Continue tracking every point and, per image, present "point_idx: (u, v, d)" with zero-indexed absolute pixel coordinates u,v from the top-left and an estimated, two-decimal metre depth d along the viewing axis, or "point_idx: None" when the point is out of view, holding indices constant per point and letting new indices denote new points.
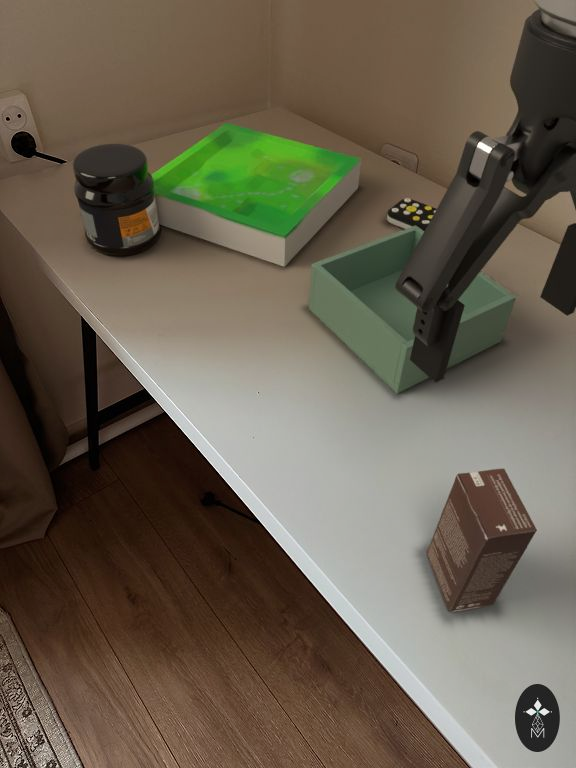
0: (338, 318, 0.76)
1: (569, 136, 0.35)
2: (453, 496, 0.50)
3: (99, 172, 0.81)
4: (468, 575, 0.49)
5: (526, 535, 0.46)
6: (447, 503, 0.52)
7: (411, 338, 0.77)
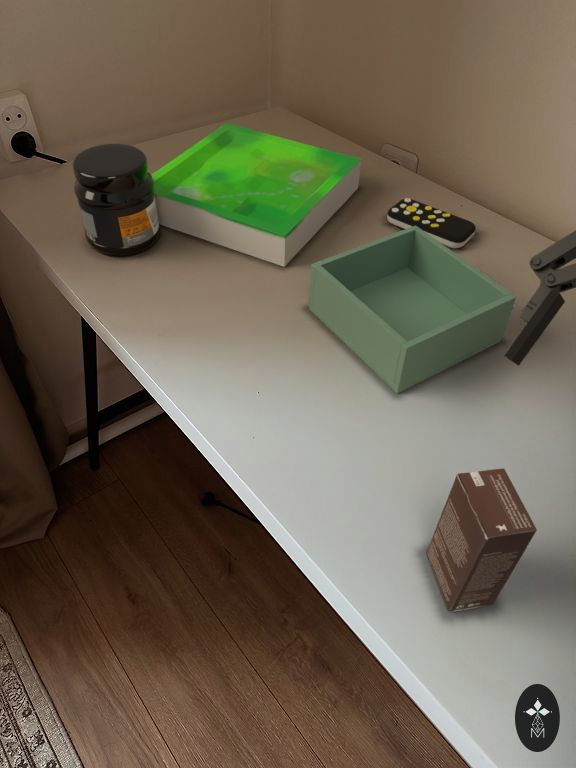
0: (338, 318, 0.76)
1: None
2: (453, 496, 0.50)
3: (99, 172, 0.81)
4: (468, 575, 0.49)
5: (526, 535, 0.46)
6: (447, 503, 0.52)
7: (411, 338, 0.77)
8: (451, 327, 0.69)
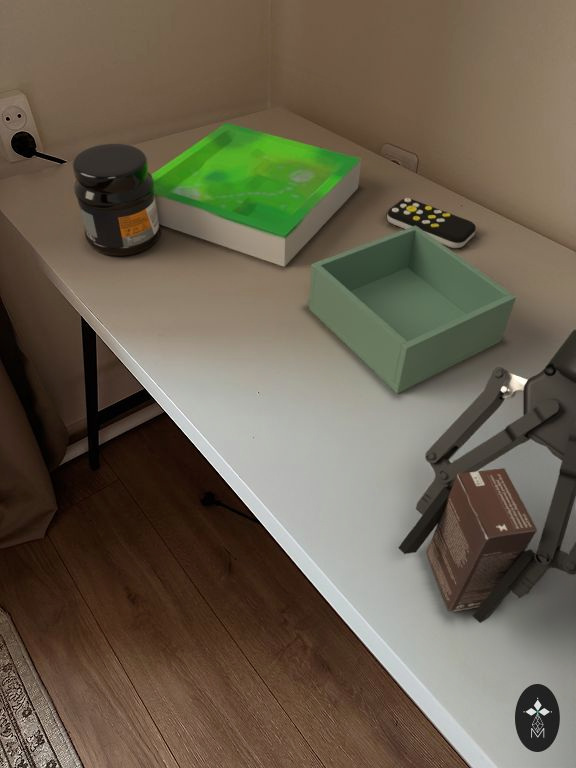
0: (338, 318, 0.76)
1: (561, 396, 0.49)
2: (453, 496, 0.50)
3: (99, 172, 0.81)
4: (468, 575, 0.49)
5: (527, 535, 0.46)
6: (447, 503, 0.52)
7: (411, 338, 0.77)
8: (451, 327, 0.69)
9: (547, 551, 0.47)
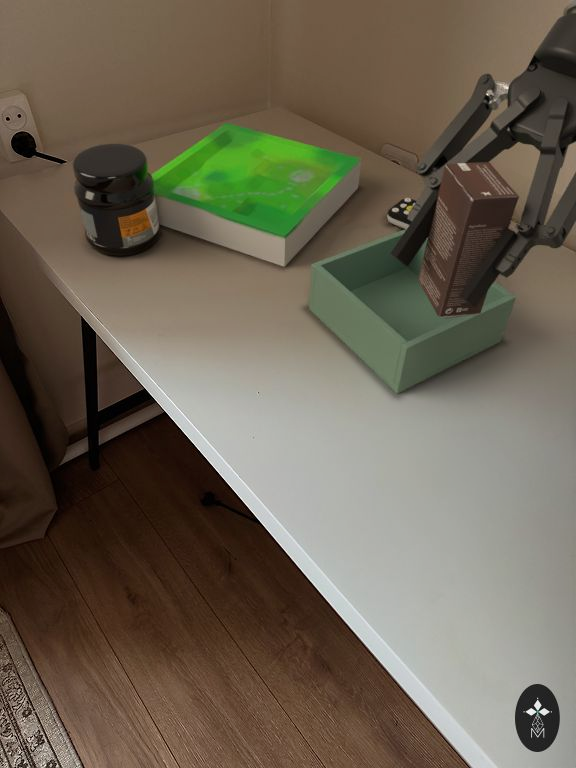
0: (338, 318, 0.76)
1: (542, 86, 0.52)
2: (442, 190, 0.54)
3: (99, 172, 0.81)
4: (456, 258, 0.53)
5: (509, 201, 0.50)
6: (436, 204, 0.55)
7: (411, 338, 0.77)
8: (451, 327, 0.69)
9: (528, 222, 0.51)
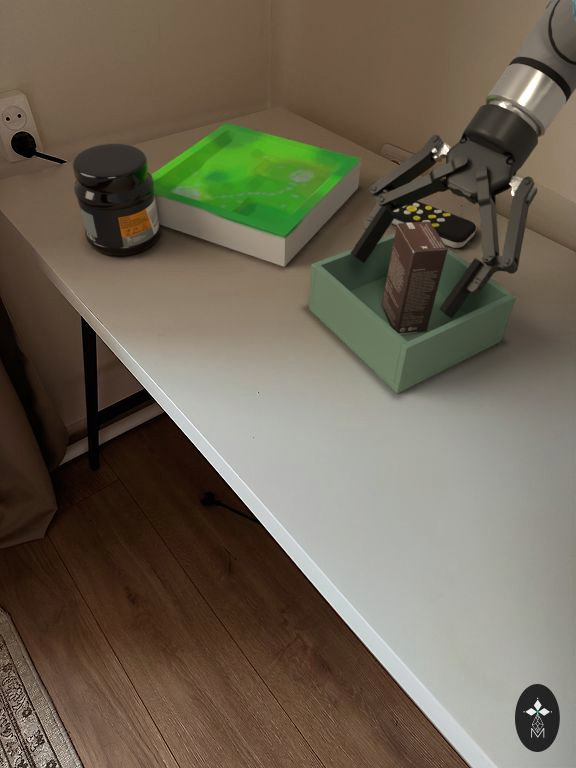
0: (338, 318, 0.76)
1: (470, 155, 0.70)
2: (395, 242, 0.73)
3: (99, 172, 0.81)
4: (405, 292, 0.72)
5: (441, 252, 0.69)
6: (392, 251, 0.75)
7: (411, 338, 0.77)
8: (451, 327, 0.69)
9: (489, 254, 0.67)
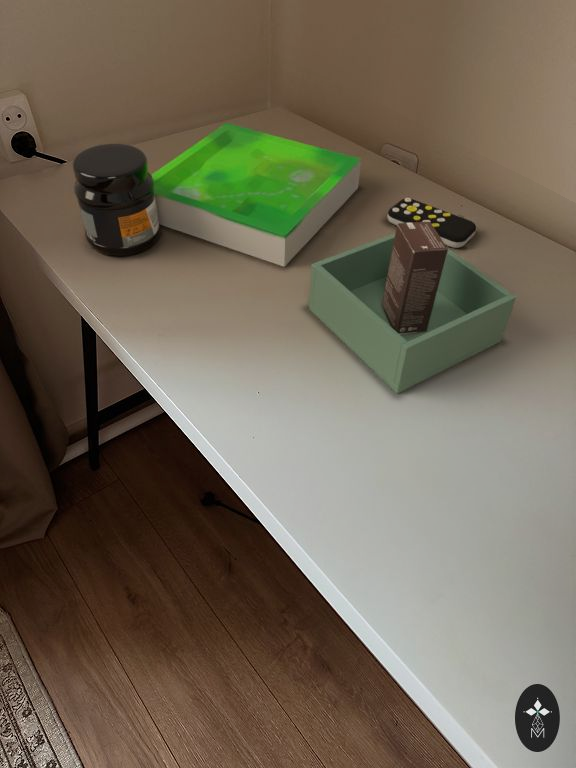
0: (338, 318, 0.76)
1: None
2: (395, 241, 0.73)
3: (99, 172, 0.81)
4: (405, 292, 0.72)
5: (441, 252, 0.69)
6: (392, 251, 0.75)
7: (411, 338, 0.77)
8: (451, 327, 0.69)
9: None
